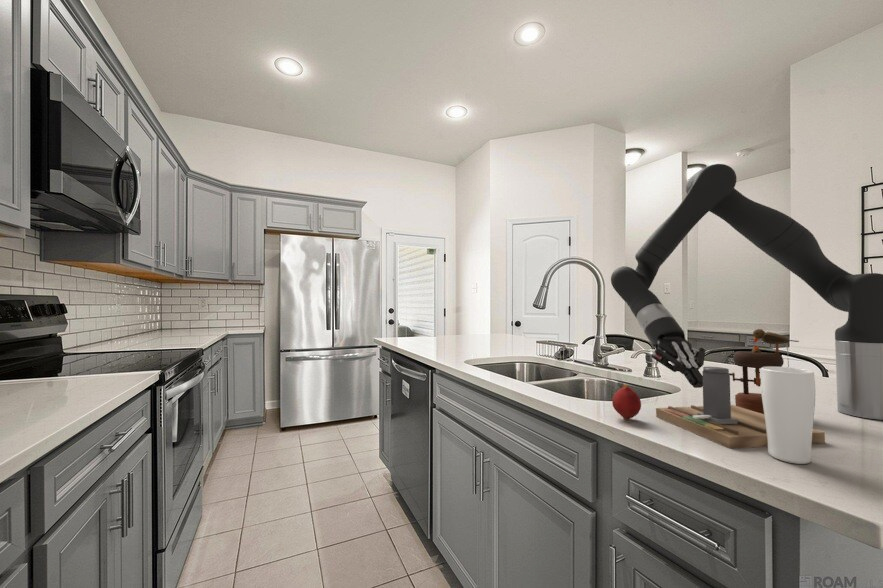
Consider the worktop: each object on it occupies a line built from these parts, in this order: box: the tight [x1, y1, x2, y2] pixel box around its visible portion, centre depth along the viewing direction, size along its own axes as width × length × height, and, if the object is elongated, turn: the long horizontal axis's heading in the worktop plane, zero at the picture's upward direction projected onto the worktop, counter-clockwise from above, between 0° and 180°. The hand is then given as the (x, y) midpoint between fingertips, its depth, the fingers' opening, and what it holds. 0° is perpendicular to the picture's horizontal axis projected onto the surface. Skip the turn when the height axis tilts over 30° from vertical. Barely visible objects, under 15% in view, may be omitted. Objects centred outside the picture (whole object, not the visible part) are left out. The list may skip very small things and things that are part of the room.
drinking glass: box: [760, 366, 816, 465], centre depth 62 cm, size 7×7×15 cm
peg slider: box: [692, 366, 738, 424], centre depth 76 cm, size 7×5×11 cm
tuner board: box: [655, 404, 826, 449], centre depth 77 cm, size 20×19×3 cm
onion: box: [611, 383, 642, 421], centre depth 84 cm, size 6×6×8 cm
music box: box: [729, 328, 800, 414], centre depth 89 cm, size 15×11×20 cm
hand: (700, 385), depth 80 cm, fingers closed
